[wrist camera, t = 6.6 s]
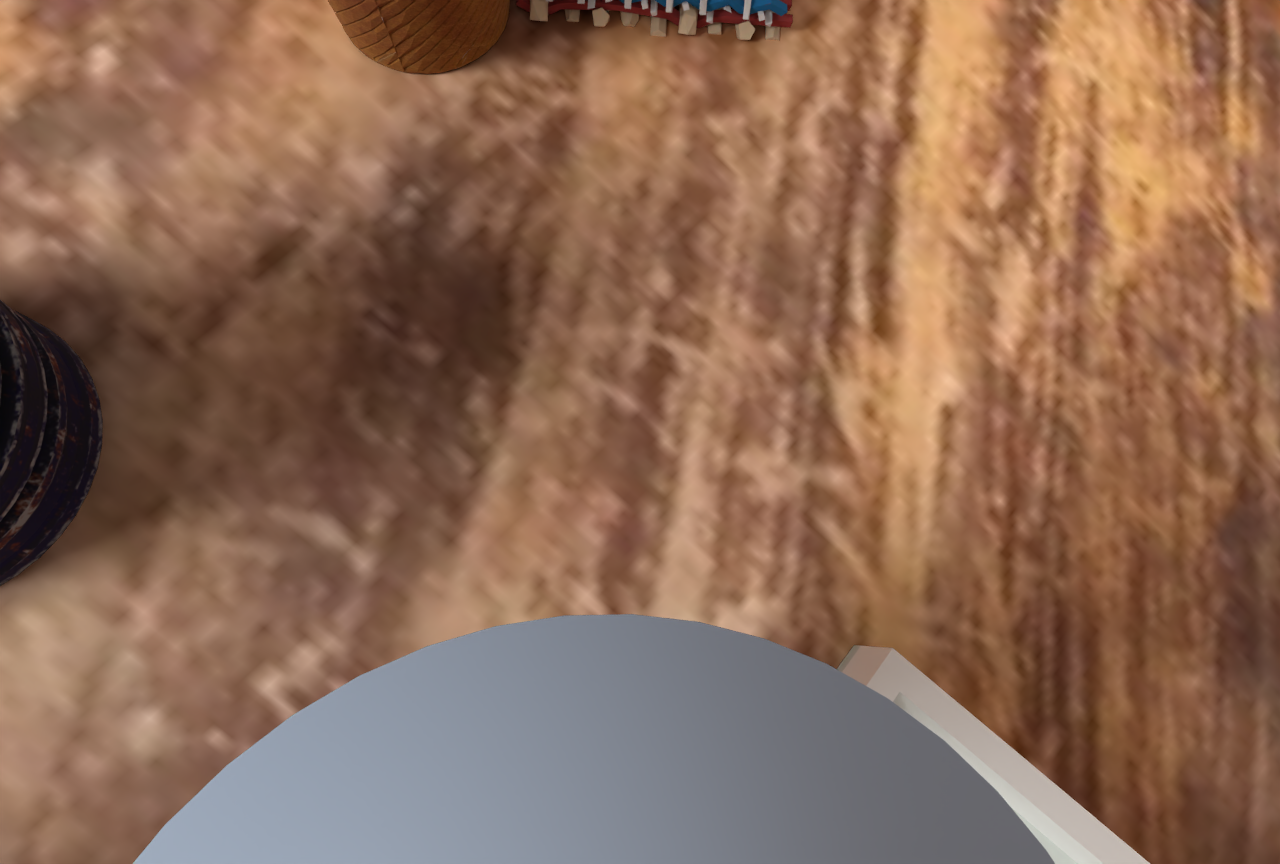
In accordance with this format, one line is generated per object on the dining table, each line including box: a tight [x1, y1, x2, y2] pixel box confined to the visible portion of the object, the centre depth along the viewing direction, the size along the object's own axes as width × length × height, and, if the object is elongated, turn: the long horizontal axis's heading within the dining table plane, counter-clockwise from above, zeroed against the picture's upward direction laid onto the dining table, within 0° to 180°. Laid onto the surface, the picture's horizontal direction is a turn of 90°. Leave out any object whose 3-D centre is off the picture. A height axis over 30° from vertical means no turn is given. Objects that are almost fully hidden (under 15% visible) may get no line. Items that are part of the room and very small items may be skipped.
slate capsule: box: [133, 614, 1055, 864], centre depth 9 cm, size 5×5×13 cm
